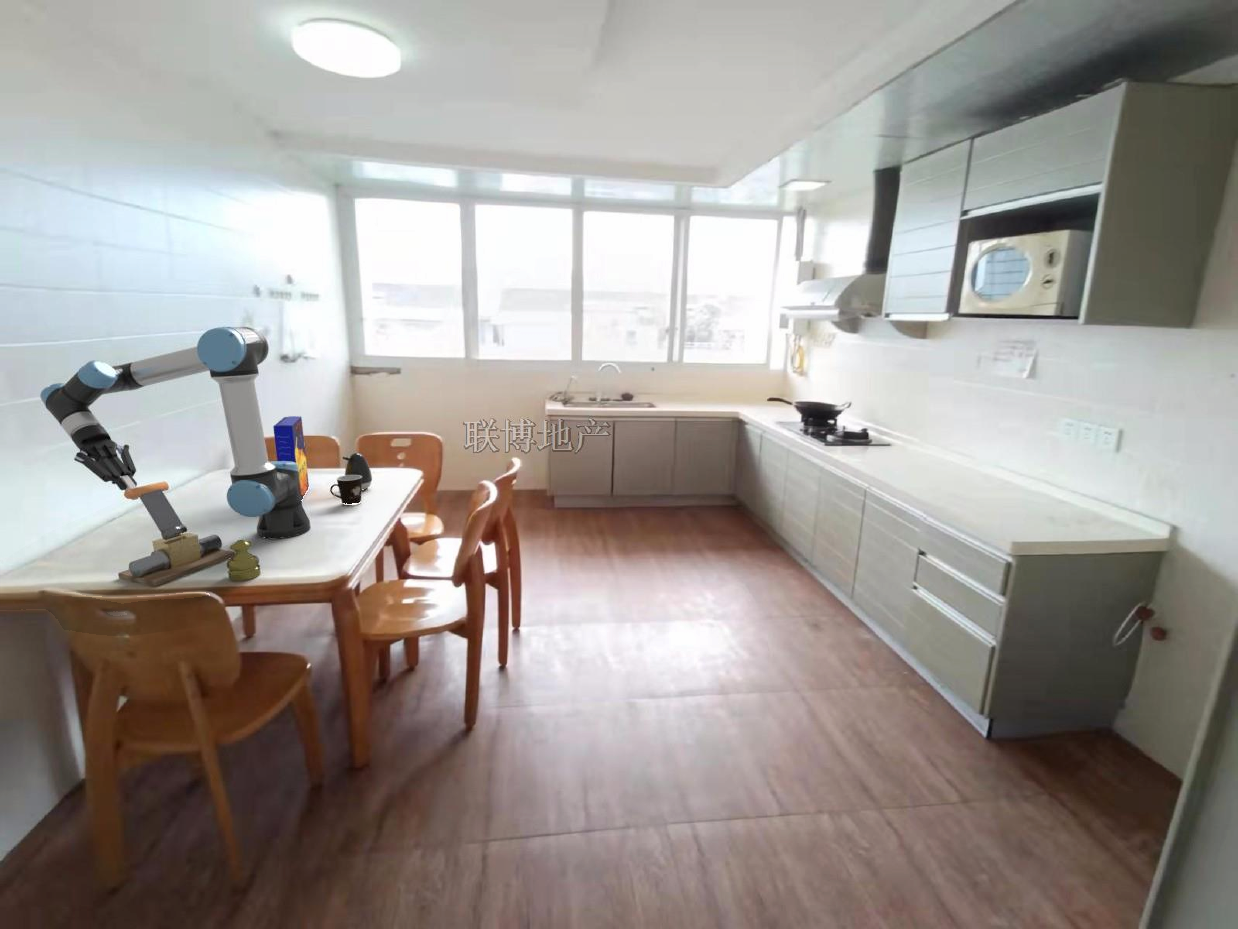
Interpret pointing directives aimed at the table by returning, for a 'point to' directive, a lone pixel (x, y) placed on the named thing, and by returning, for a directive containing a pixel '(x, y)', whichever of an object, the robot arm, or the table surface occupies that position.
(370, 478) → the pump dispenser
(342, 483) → the coffee mug
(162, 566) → the pipe valve
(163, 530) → the valve lever
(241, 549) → the gold pawn figurine
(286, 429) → the cereal box
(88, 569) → the table surface
